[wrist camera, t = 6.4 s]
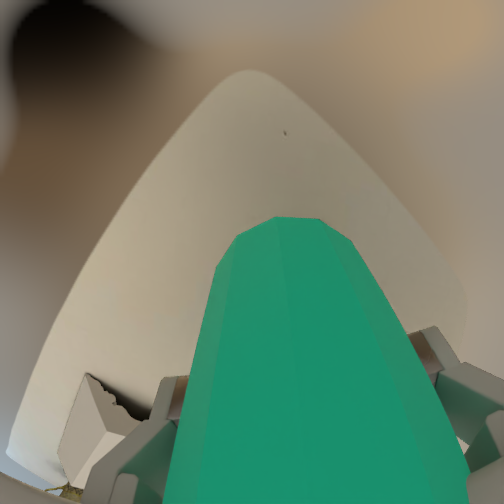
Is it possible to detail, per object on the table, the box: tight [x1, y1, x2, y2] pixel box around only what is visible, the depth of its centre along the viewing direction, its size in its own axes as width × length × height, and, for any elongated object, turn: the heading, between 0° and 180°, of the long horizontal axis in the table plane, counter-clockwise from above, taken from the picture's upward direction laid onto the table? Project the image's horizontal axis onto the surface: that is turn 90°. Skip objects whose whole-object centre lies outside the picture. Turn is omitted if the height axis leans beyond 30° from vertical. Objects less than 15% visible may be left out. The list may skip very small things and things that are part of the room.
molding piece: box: [57, 375, 141, 489], centre depth 37 cm, size 32×12×10 cm
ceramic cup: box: [45, 481, 84, 503], centre depth 42 cm, size 13×10×10 cm
